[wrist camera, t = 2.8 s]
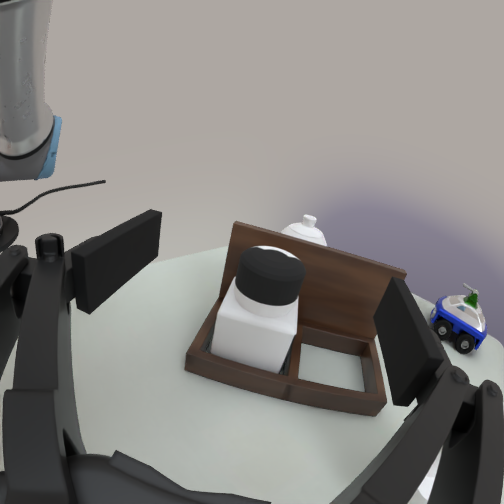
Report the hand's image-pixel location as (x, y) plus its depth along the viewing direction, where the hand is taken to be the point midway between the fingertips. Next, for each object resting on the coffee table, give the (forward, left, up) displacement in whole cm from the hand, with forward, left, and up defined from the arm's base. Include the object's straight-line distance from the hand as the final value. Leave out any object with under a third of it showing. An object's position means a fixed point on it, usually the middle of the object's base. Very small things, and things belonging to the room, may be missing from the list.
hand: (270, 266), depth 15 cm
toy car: (-8, +42, -16) cm, 46 cm away
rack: (-7, +8, -16) cm, 19 cm away
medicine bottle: (-9, +4, -16) cm, 19 cm away
